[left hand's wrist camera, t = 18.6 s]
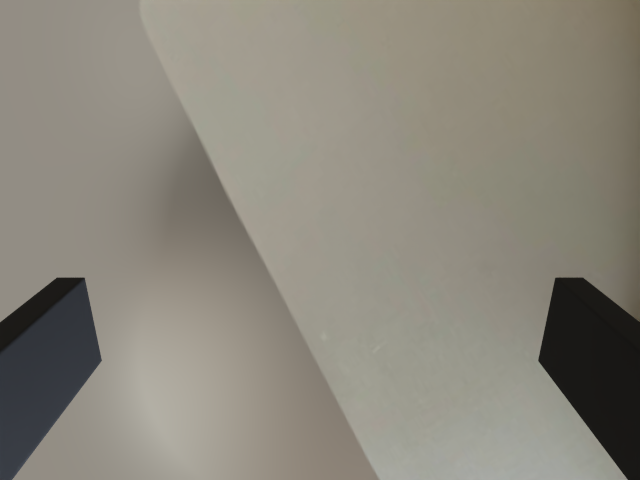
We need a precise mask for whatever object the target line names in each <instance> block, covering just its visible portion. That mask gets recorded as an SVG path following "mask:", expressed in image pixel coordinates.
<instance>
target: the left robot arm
mask: <svg viewBox="0 0 640 480" xmlns="http://www.w3.org/2000/svg"><path fill="white" fill-rule="evenodd" d="M101 361H102V360H101V355H100V350H99V345H98V340H97V336H96V331H95V326H94V321H93V316H92V311H91V307H90V302H89V297H88V292H87V287H86V282H85V278H56V279H55V280H53V281H52V282H51V283H50V284H49V285H47V286H46V287H45V288H43V289H42V290H41V291H40V292H38V293H37V294H36V295H34V296H33V297H32V298H31V299H29V300H28V301H27V302H26V303H24V304H23V305H22V306H21V307H19V308H18V309H17V310H15V311H14V312H13V313H12V314H10V315H9V316H8V317H7V318H5V319H4V320H3V321H1V322H0V480H12V479H13V478H14V476H15V475H16V474H17V472H18V471H19V470H20V469H21V467H22V466H23V464H24V463H25V462H26V460H27V459H28V458H29V456H30V455H31V454H32V453H33V451H34V450H35V449H36V447H37V446H38V445H39V443H40V442H41V441H42V439H43V438H44V437H45V435H46V434H47V433H48V431H49V430H50V429H51V427H52V426H53V425H54V423H55V422H56V421H57V419H58V418H59V417H60V415H61V414H62V413H63V411H64V410H65V409H66V407H67V406H68V405H69V403H70V402H71V401H72V399H73V398H74V397H75V395H76V394H77V393H78V392H79V390H80V389H81V387H82V386H83V385H84V383H85V382H86V381H87V380H88V378H89V377H90V376H91V374H92V373H93V372H94V370H95V369H96V368H97V366H98V365H99V364H100V362H101ZM538 361H539V362H540V364H541V365H542V366H543V368H544V369H545V370H546V372H547V373H548V374H549V376H550V377H551V378H552V380H553V381H554V382H555V384H556V385H557V386H558V388H559V389H560V390H561V392H562V393H563V394H564V395H565V397H566V398H567V399H568V401H569V402H570V403H571V405H572V406H573V407H574V409H575V410H576V411H577V413H578V414H579V415H580V417H581V418H582V419H583V421H584V422H585V423H586V425H587V426H588V427H589V429H590V430H591V431H592V433H593V434H594V435H595V437H596V438H597V439H598V441H599V442H600V443H601V445H602V446H603V447H604V449H605V450H606V451H607V453H608V454H609V455H610V457H611V458H612V459H613V461H614V462H615V463H616V465H617V466H618V467H619V469H620V470H621V471H622V473H623V474H624V475H625V476H626V478H627V479H628V480H640V322H639V321H637V320H636V319H635V318H634V317H632V316H631V315H630V314H628V313H627V312H626V311H625V310H623V309H622V308H621V307H620V306H618V305H617V304H616V303H614V302H613V301H612V300H611V299H609V298H608V297H607V296H606V295H604V294H603V293H602V292H600V291H599V290H598V289H597V288H595V287H594V286H593V285H592V284H590V283H589V282H588V281H587V280H585V279H584V278H555V282H554V287H553V292H552V297H551V302H550V307H549V311H548V316H547V321H546V326H545V331H544V336H543V340H542V345H541V350H540V355H539V360H538Z"/></svg>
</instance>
